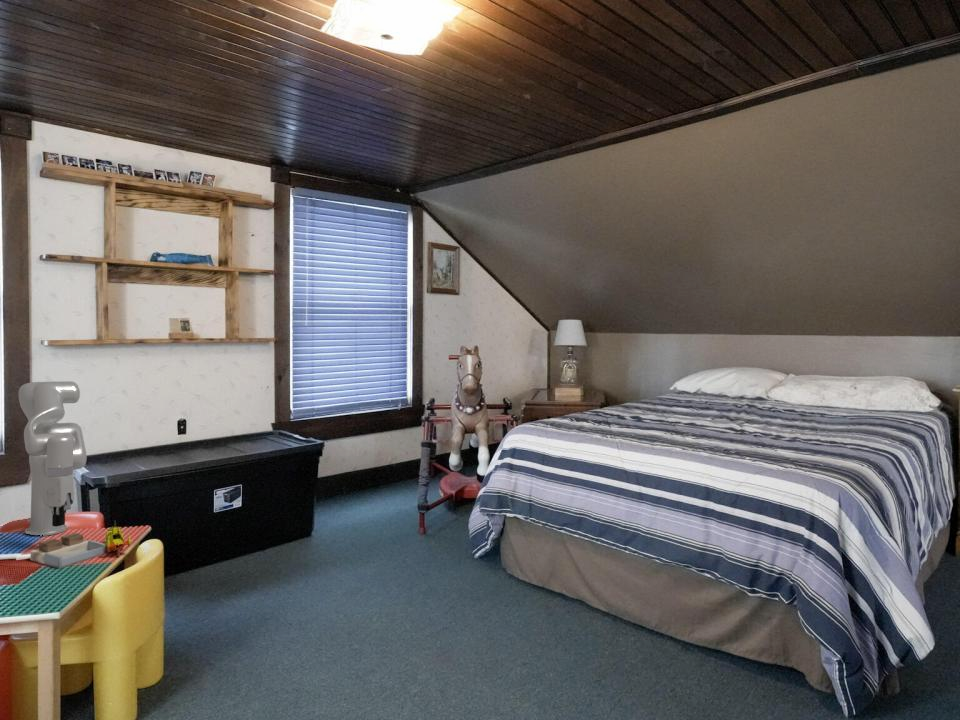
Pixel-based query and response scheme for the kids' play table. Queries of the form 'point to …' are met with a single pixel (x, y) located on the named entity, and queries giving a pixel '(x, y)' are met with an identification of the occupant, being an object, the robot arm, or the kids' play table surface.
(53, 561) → the box
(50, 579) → the kids' play table surface
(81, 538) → the tile
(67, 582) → the kids' play table surface
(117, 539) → the toy car
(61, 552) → the plate
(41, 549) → the tile
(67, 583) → the kids' play table surface
